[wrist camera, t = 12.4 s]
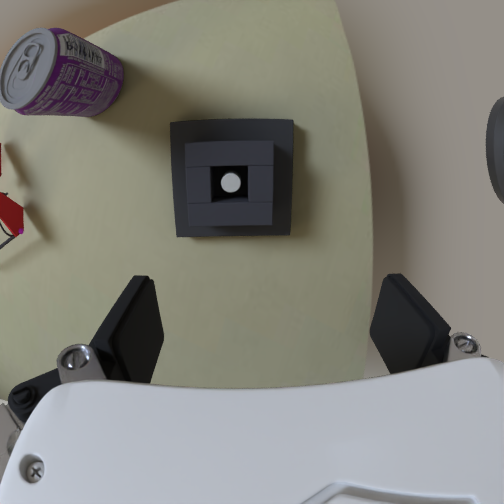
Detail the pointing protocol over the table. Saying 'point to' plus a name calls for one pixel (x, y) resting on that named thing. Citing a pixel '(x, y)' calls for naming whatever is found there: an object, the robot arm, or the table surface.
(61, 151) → the table surface
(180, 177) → the black base pad
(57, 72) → the beverage can
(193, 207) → the dark grey socket block
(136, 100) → the table surface
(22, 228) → the glasses
